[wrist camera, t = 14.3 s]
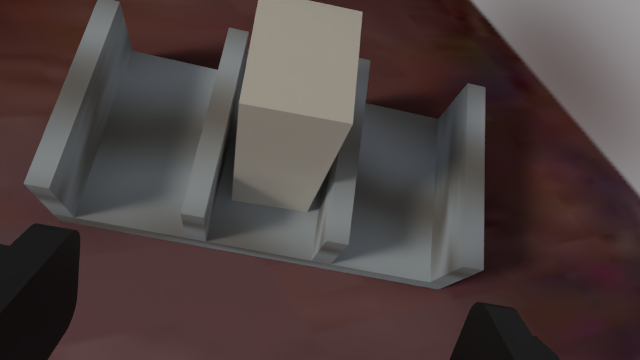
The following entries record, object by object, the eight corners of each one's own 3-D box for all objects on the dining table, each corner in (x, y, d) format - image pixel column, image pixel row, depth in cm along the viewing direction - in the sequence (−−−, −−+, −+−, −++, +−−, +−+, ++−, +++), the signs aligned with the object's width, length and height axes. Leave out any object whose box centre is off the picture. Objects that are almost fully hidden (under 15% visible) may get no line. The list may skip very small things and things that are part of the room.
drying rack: (438, 289, 28) (483, 270, 23) (59, 220, 25) (23, 183, 21) (445, 131, 32) (485, 87, 27) (118, 59, 29) (98, -4, 25)
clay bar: (307, 212, 27) (352, 124, 18) (231, 200, 26) (238, 103, 17) (316, 129, 29) (362, 11, 20) (246, 116, 28) (260, -10, 19)
